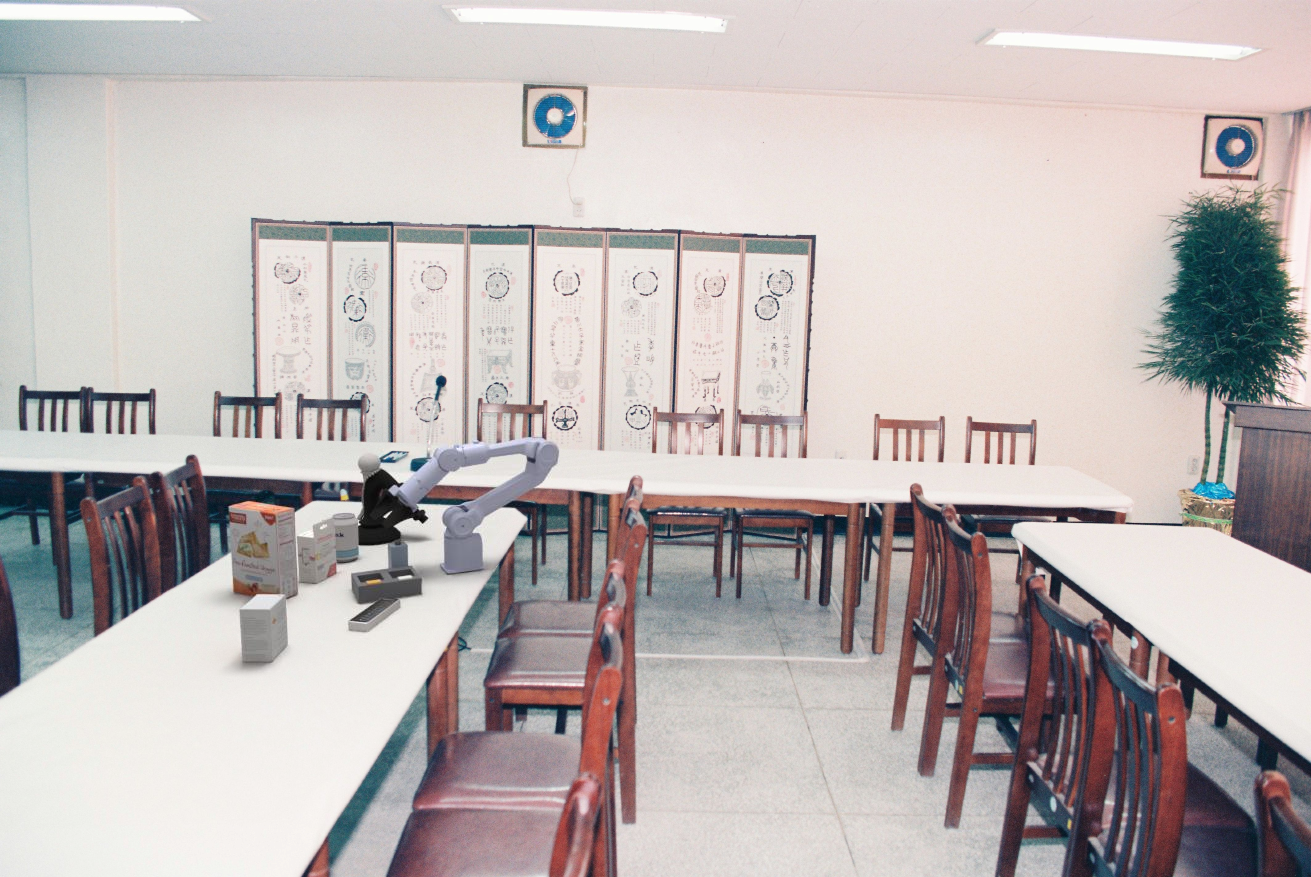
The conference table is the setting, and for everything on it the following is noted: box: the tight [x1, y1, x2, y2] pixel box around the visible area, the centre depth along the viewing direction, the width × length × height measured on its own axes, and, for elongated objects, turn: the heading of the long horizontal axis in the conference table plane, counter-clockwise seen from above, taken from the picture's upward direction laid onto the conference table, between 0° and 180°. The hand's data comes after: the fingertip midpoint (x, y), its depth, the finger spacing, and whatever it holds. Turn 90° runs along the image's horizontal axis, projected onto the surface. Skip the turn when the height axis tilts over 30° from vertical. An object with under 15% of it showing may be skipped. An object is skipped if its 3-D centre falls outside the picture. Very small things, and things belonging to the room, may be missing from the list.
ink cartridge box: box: [296, 516, 338, 584], centre depth 189 cm, size 9×5×15 cm, turn 168°
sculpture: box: [356, 452, 429, 547], centre depth 222 cm, size 15×24×25 cm, turn 88°
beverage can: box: [331, 512, 360, 563], centre depth 203 cm, size 7×7×12 cm
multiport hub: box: [347, 597, 401, 633], centre depth 166 cm, size 4×14×2 cm, turn 171°
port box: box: [350, 565, 423, 604], centre depth 181 cm, size 14×10×4 cm
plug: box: [387, 539, 409, 569], centre depth 193 cm, size 4×4×9 cm
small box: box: [238, 594, 289, 663], centre depth 147 cm, size 8×6×10 cm
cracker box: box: [228, 500, 299, 600], centre depth 176 cm, size 14×6×21 cm, turn 70°
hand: (378, 522), depth 189 cm, fingers open, 7 cm apart
